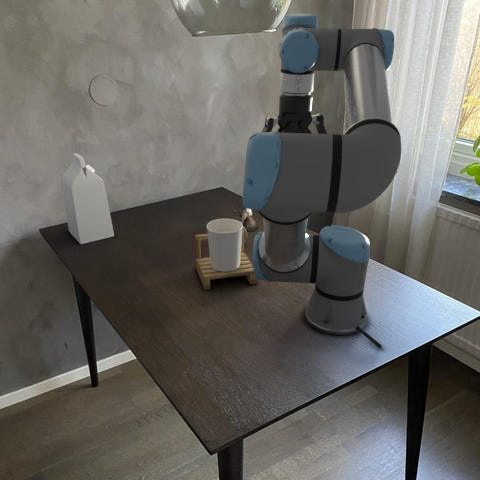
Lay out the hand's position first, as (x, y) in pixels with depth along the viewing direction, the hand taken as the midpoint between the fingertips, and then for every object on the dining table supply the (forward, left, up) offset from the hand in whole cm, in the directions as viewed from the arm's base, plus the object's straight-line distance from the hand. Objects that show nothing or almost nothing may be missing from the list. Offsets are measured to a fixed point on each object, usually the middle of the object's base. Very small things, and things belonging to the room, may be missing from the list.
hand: (290, 184), depth 127 cm
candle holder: (+8, +15, -25) cm, 30 cm away
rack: (+9, +15, -29) cm, 33 cm away
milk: (+48, +52, -29) cm, 77 cm away
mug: (+30, +7, -29) cm, 42 cm away
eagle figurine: (+42, 0, -29) cm, 51 cm away
